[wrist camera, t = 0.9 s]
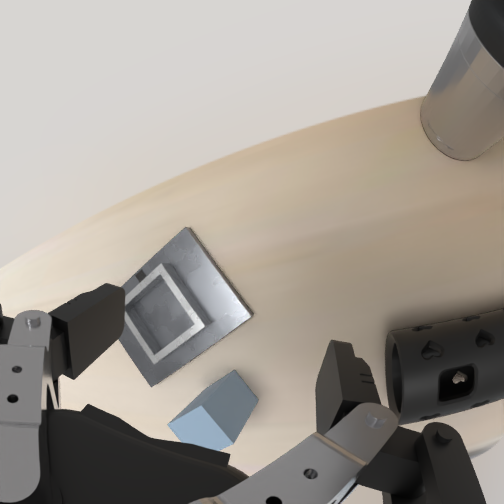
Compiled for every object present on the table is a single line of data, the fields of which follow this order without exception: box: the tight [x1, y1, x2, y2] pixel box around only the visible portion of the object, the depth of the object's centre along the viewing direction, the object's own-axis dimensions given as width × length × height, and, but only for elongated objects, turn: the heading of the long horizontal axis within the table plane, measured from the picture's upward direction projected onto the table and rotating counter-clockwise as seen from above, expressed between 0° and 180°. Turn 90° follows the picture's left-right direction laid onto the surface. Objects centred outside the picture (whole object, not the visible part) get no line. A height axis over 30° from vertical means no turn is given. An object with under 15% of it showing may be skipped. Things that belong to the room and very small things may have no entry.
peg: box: [167, 370, 258, 451], centre depth 29 cm, size 4×4×10 cm
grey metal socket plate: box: [119, 227, 254, 387], centre depth 35 cm, size 16×12×3 cm
